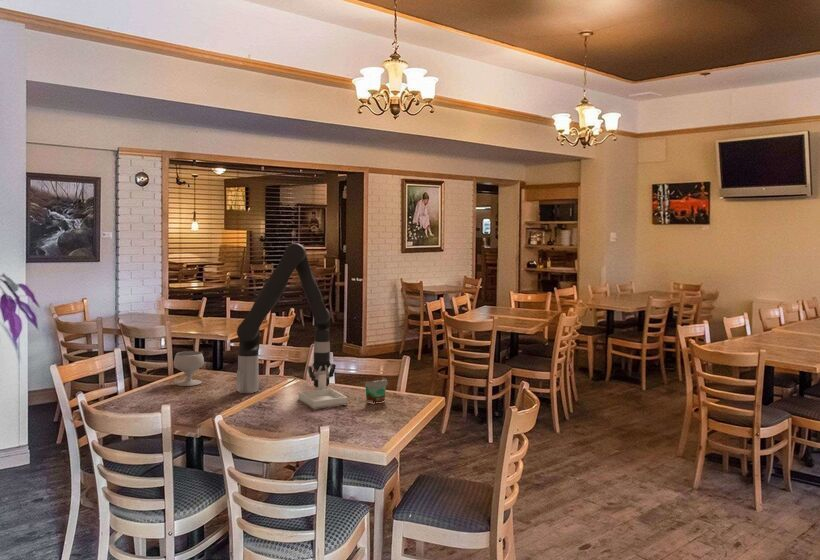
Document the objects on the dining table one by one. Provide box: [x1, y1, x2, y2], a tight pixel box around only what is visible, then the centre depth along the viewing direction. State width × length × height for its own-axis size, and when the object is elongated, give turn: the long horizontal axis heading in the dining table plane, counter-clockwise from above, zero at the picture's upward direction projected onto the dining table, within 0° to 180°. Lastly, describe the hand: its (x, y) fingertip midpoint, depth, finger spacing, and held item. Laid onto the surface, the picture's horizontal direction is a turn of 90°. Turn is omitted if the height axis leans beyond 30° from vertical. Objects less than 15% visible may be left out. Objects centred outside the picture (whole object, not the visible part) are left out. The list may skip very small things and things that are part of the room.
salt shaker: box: [315, 371, 327, 390], centre depth 301 cm, size 5×5×10 cm
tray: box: [298, 388, 349, 410], centre depth 283 cm, size 16×18×4 cm
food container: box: [364, 376, 389, 403], centre depth 284 cm, size 12×6×10 cm, turn 143°
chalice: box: [173, 350, 205, 387], centre depth 312 cm, size 14×14×15 cm
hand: (321, 386), depth 302 cm, fingers closed on salt shaker, 4 cm apart
